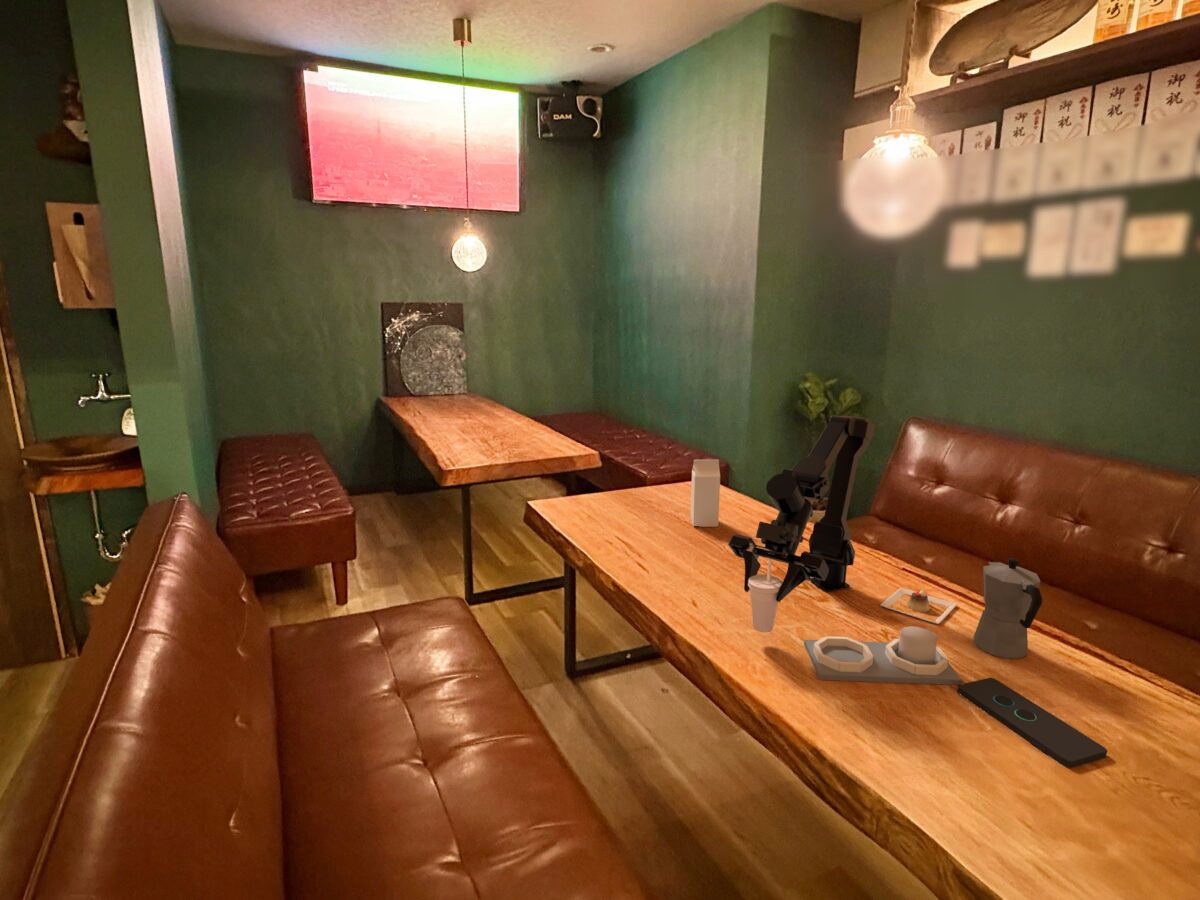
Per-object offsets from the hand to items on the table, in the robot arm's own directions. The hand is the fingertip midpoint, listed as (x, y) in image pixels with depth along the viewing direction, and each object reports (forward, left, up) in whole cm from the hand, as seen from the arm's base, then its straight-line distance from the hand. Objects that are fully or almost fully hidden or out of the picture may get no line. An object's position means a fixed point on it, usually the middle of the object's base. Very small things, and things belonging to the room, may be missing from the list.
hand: (761, 596), depth 126 cm
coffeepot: (-43, +17, -11) cm, 47 cm away
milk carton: (-24, -65, -11) cm, 70 cm away
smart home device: (-27, +35, -11) cm, 45 cm away
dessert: (-41, -2, -11) cm, 42 cm away
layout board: (-17, +13, -10) cm, 24 cm away
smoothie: (-1, -1, -7) cm, 7 cm away
